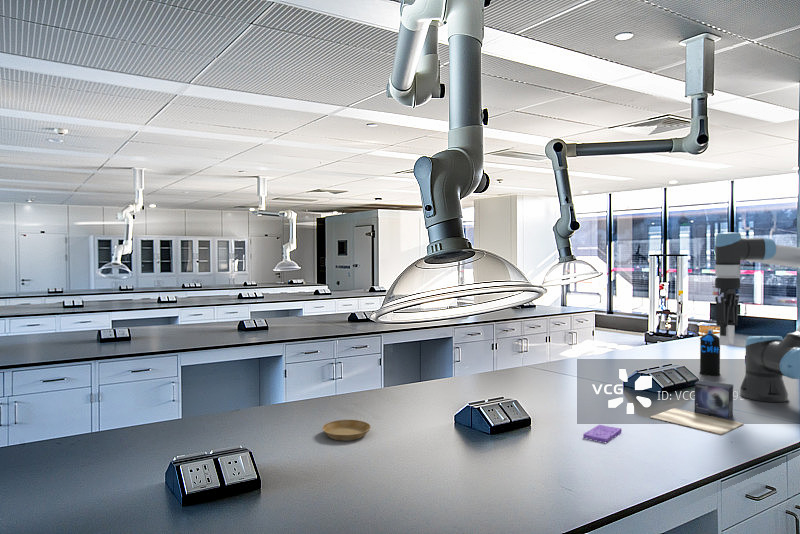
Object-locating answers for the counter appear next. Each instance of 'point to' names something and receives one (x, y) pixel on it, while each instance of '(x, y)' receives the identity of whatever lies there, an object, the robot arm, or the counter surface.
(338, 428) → the plant saucer
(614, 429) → the sponges
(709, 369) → the aerosol can
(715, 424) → the tan flat board
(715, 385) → the small box
